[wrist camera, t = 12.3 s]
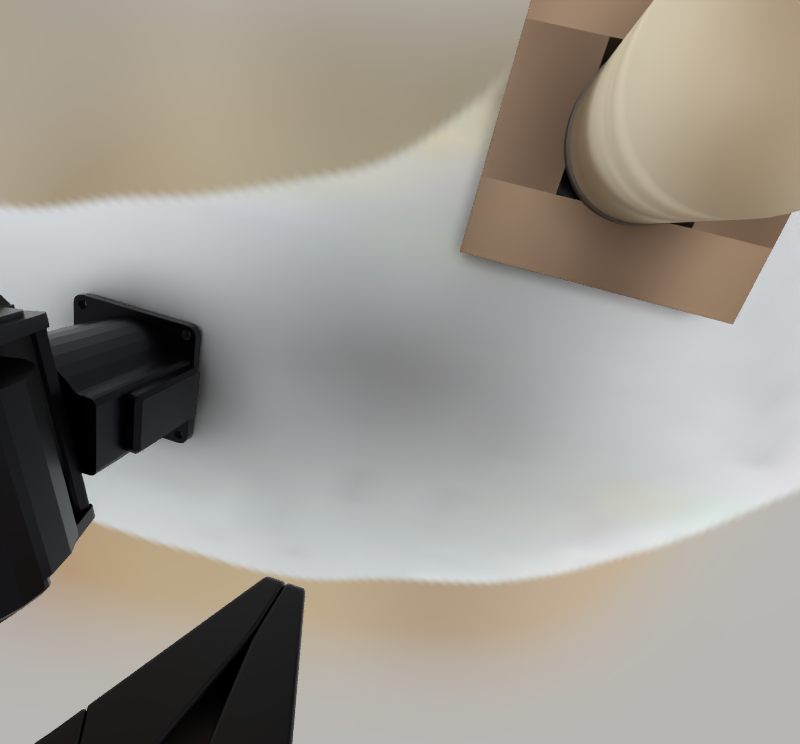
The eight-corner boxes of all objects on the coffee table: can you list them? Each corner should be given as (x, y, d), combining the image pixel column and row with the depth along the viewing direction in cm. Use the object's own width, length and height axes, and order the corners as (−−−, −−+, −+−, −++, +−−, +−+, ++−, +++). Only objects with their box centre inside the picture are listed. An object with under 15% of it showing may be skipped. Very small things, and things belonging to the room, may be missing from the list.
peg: (530, 208, 17) (582, 186, 9) (578, 59, 15) (702, -150, 7) (659, 241, 17) (846, 251, 8) (724, 91, 15) (1044, -88, 7)
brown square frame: (462, 248, 18) (459, 251, 15) (541, -29, 15) (556, -89, 12) (691, 309, 17) (732, 324, 14) (825, 31, 14) (912, -19, 11)
